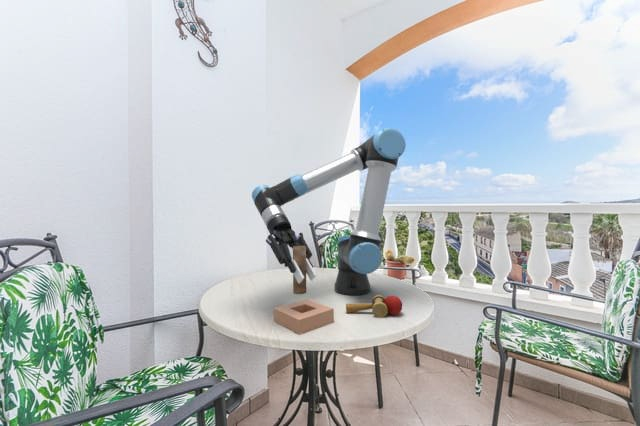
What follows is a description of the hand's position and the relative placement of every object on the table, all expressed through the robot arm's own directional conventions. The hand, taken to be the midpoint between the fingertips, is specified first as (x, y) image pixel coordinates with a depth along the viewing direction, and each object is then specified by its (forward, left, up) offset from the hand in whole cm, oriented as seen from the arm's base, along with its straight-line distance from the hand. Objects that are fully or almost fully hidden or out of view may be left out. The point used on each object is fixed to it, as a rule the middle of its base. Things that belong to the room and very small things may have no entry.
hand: (307, 279), depth 85 cm
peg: (0, -4, -5) cm, 6 cm away
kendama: (-22, +7, -14) cm, 27 cm away
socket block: (-1, -3, -14) cm, 14 cm away
